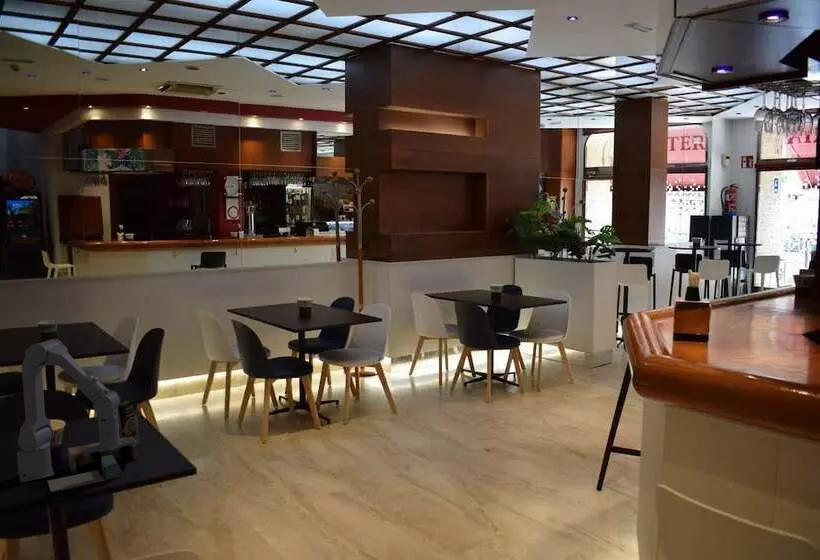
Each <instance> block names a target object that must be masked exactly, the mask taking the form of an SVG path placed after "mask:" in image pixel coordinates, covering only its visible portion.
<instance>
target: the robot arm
mask: <svg viewBox="0 0 820 560" xmlns="http://www.w3.org/2000/svg"><path fill="white" fill-rule="evenodd" d="M24 355H25V356H24V358H23V361H22V363H21V374H22V387H23V402H24V415H25V420H24V422H23V423H22V425H21V426H20V429H19V435H18V438H17V443H18V446H19V448H20V449H21V450H19V451H17V453H16V455H17V458H16V459H17V466H18V467H17V468H18V469H17V475H18V478H19V480H20V481H19V482H20V483H26V482H30V481H35V480H36V481H37V480H39V479H43V478H45V479H46V478H49V477H54V476H55V475H56V474H55V472H54V469H53V467H52V456H51V455H52V454H51V444H52V443H51V442H52V440H53V438H54V437H55V431H54V429H53V427H52V424H51V420H50V419H49V418H47V417H46V410H45V395H44V379H43V369H44V368H45V367H46V366H55V367H57V366H58V367H60V368H61V369H62V370H64V371H65V372H66V373H67V374H68V375H69V376H70V377H71V378H72V379H73V380H75V381H76V382H77V388H78V390H79V391H80V392H81V393H82V394H83V395H85V396H86V397H87V398H88V399H89V400H90V401H91V403H93V405H92V407H93V410H94V411H95V413H96V414H97V422H98V437H99V442H100V444H99V445H96V446H92V447H89V448H84V450H85V456H89V455H91V456H92V458H93V459H94V461H95V462H94V463H95V465H96V467H97V470H98V471H99V475H100V476H103V477H104V475H103V472H102V464H101V455H100V453H101V452H106V451H111V450H116V449H120V457H119V458H120V470H121V472H125V471H126V464H127V460H128V458H129V456H130V455H129V453H130V447H134V446H135V440H134V439H131V440H121V441H120V439H119V424H118V410H117V407H118V406H119V405H120V401H121V400H122V399H121V397H120V395H119V394H118V392H117V391H115V390H110V389H109V388H108V387H106V386H105V385H104V384H103V383H102V382H101V381H100V378H99V377H98V376H95V375H93V374H87V372H86V371H85V370H84V369H83V368H82V367H81V366H80V365H79V363H78V362H77V361H76V360H75V359H74V358H73V356H71V355H70V353H69V350H68V348H67V346H66V345H64V344H63V342H61V340H59V339H57V338H51V339H48V340H45V341H42V342H39V343H33V344H31V345H30V346H29V347H28V348H26V349H25V351H24ZM115 408H116V409H115Z"/></svg>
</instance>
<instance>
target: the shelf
mask: <svg viewBox="0 0 820 560" xmlns="http://www.w3.org/2000/svg"><path fill="white" fill-rule="evenodd" d="M131 439H134V438H133V437H132V436H131V437H126V438H120V441H121V440H131ZM134 440H135V439H134ZM99 444H100V441H99V442H94V443H90V444H84V445H80V446H79V445H78V446H74V447H68V448H67V454H68V464H69V465H68V466H69V469H70V471H71V473H72V474H75V473H77V466H78V465H79V466H83V465H89V464H92V463H95V461H94V459H93V458H92V456H91V455H89V456H85V450H84V448H89V447H92V446H96V445H99ZM137 445H138V444H137V443H136V441H135V446H134V447H130V453H129V455H128V456H130V457H131V458H132V460H133V461H137V459H138V448H137ZM100 455H101V457H103V456H108V455H112V456H113V457H114V459H117V458H121V457H120V449H116V450H111V451H106V452H101V453H100Z"/></svg>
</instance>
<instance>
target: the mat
mask: <svg viewBox="0 0 820 560" xmlns="http://www.w3.org/2000/svg"><path fill="white" fill-rule="evenodd" d="M105 481H106V479H105V477H104V475H103V476H100V475H99V471H98V469H97V470H92V471H87V472H84V473H78V474H75V475H74V474H72V475H69V476H63V477H58V478H54V479H50V480H47V485H48V488H49V490H50V493H51V492H52V493H55V491H57V492H60V491H59V490H61V491H64V490H65V489H66V490H70V489H74V487H75V488H78V487H82V486H83V485H84V486H88V485H87V484H89V485H92V484H91V483H93V484H97V482H98V483H101V482H105ZM66 490H65V491H66Z"/></svg>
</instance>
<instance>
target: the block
mask: <svg viewBox="0 0 820 560" xmlns="http://www.w3.org/2000/svg"><path fill="white" fill-rule="evenodd" d="M101 464H102V472H103V477H104V479H105V481H108V479H109V480H112V479H113V478H114V479H118V478H121V475H120V473H121V472H120V470H121V469H120V465H119V463H118V462H117V460H116V458H114V457H113V456H112V455H108V456H103V457H101Z"/></svg>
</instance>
